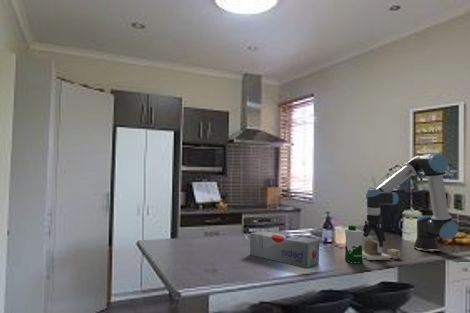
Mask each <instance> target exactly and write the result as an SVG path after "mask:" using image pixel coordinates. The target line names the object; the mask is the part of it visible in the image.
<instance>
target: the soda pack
mask: <svg viewBox="0 0 470 313" xmlns="http://www.w3.org/2000/svg"><path fill="white" fill-rule="evenodd" d="M249 236H250V237H249V241H250V242H249V245H250V246H249V249H250V250H249V255H250V256H254V257H258V258H262V259H266V260H270V261H276V262H280V263H283V264H289V265H293V266H296V267H297V266H298V267H302V268H306V269H309V268H312V267H314V266H317V265H320V239H317V238H316V239H314V238H308V237H303V236H296V235H289V234H285V233H284V234H283V233H279V232H272V231H264V230H261V231H255V232H250V234H249Z"/></svg>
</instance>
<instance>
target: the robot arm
mask: <svg viewBox="0 0 470 313" xmlns="http://www.w3.org/2000/svg"><path fill="white" fill-rule="evenodd" d="M448 168H449V162H448V159H447V157H446V156H444V155H443V154H440V153H425V154H424V153H423V154H418V155H416V156H414V157H412V158H410V159H409V160H408V161H407V162H405V163H404V164H403V165H402V167H401V168H400V169H399V170H398V171H396V172H395V173H394V174H392V175H391V176H390V177H389V178H387V179H386V180H385V181H383V182H382V183H381V184H380V185H379V186H377V187H376V188H368V189H367V192H366V194H365V197H366V220H365V221H364V226H363V228H362V231H364V234H363V244H364V243H365V241H370V237H369V235H370V233H371V231H373V232H374V234H375V235H376V238H377V241H378V251H377V252H378V253H383V246H384V245H383V244H384V242H385V241H386V237H385V234H384V229H383V224H382V223H379V222H380V221H381V205H387V206H388V205H389V206H390V205H391V206H394V205H397V204H398V203H399V200H400V199H399V194H398V193H396V192H394V190H395V189H397V188H398V187H400V185H401V184H403V183H404V182H406V181H407V180H408V179H410V177H413V176H416V175H417V174H419V173H423V175H424V177H425V178H426V179H427V182H428V190H429V195H430V202H431V208H432V215H417V218H416V238H415V242H414V244H413V248H414V247H417V248H423V249H439V250H440V247H439V242H438V239H437V238H439V239H443V240H452V239H454V238H455V237H456V236H457V235H458V231H459V226H458V224H457V223H456V222H455V221H454V220H453V217H452V215H450V214H449V207H448V201H447V195H446V188H445V182H444V176H445V175H446V171H447V170H448Z"/></svg>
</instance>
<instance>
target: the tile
mask: <svg viewBox="0 0 470 313" xmlns="http://www.w3.org/2000/svg"><path fill="white" fill-rule="evenodd" d="M362 257H365V258H368V259H381V258H391V256H389V255H387V253H384V252H382V255H370V254H367V253H365V252H364V250H362Z"/></svg>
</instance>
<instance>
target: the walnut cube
mask: <svg viewBox="0 0 470 313" xmlns="http://www.w3.org/2000/svg"><path fill="white" fill-rule="evenodd" d="M363 247H364V250H363V251H364V252H365V253H367V254H370V255H382V253H383V252H382V253H378V252H377V251H378V240H369V241H365V243H364V242H363Z"/></svg>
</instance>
